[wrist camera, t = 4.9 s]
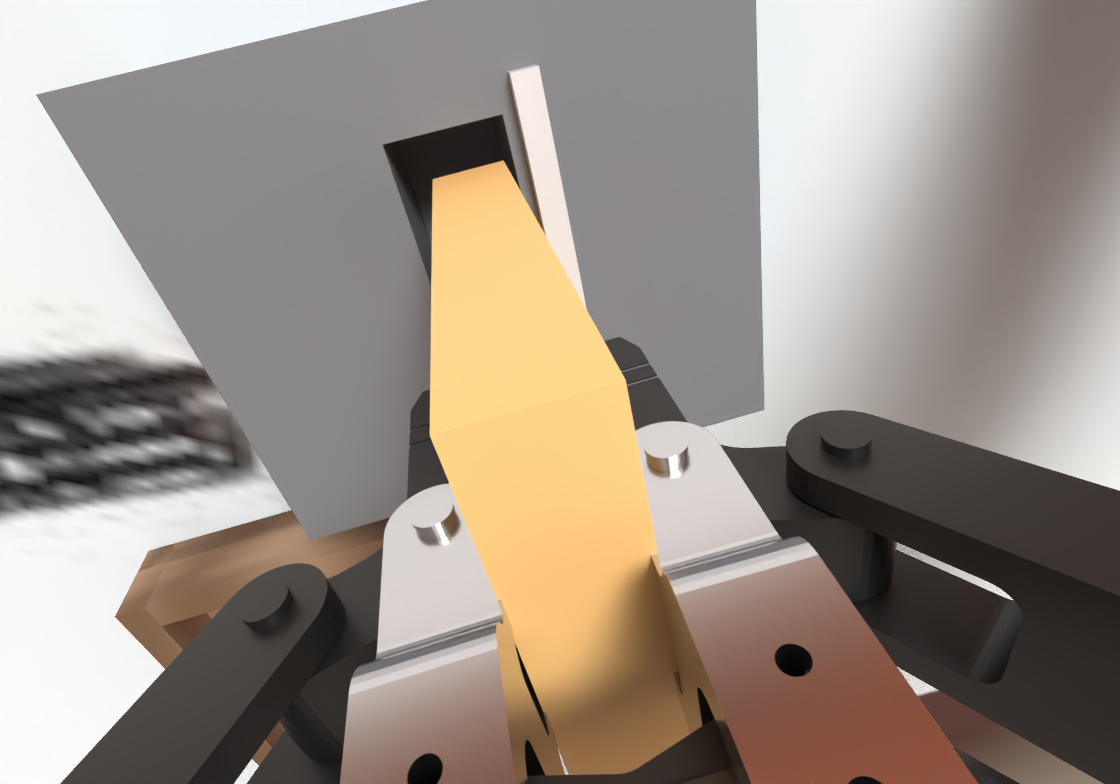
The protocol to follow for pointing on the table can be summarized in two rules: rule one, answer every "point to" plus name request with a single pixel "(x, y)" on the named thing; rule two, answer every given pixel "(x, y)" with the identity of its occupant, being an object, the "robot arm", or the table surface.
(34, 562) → the table surface
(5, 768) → the table surface
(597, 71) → the dispenser
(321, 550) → the tray
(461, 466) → the yellow rectangular block
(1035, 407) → the table surface
